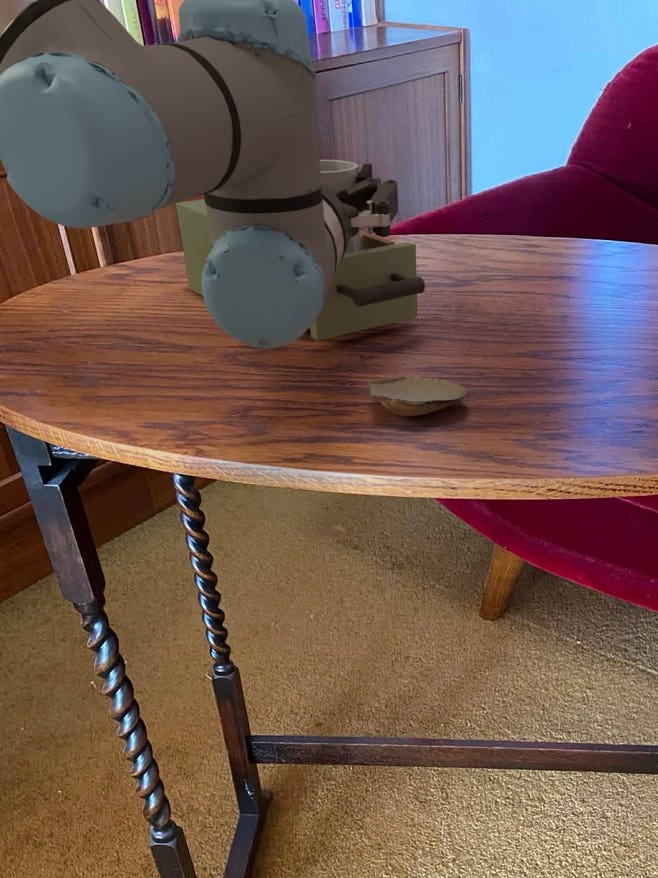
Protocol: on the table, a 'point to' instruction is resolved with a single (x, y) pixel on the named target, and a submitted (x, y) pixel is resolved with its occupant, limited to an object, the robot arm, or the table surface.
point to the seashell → (416, 394)
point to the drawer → (370, 289)
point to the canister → (341, 178)
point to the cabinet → (194, 240)
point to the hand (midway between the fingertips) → (333, 179)
